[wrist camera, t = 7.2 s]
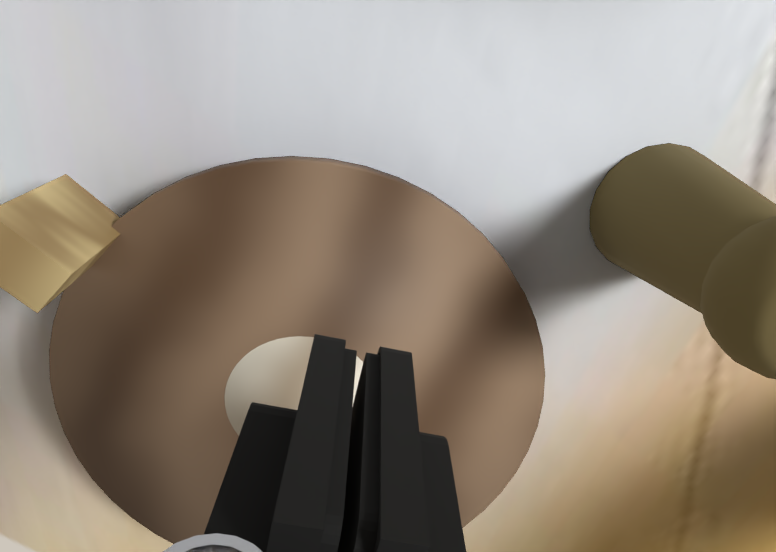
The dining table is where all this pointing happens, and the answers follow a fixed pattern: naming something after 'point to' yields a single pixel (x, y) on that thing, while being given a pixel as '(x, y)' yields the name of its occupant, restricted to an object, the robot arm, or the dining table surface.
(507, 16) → the dining table surface
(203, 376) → the turntable
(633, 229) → the cork
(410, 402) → the robot arm
